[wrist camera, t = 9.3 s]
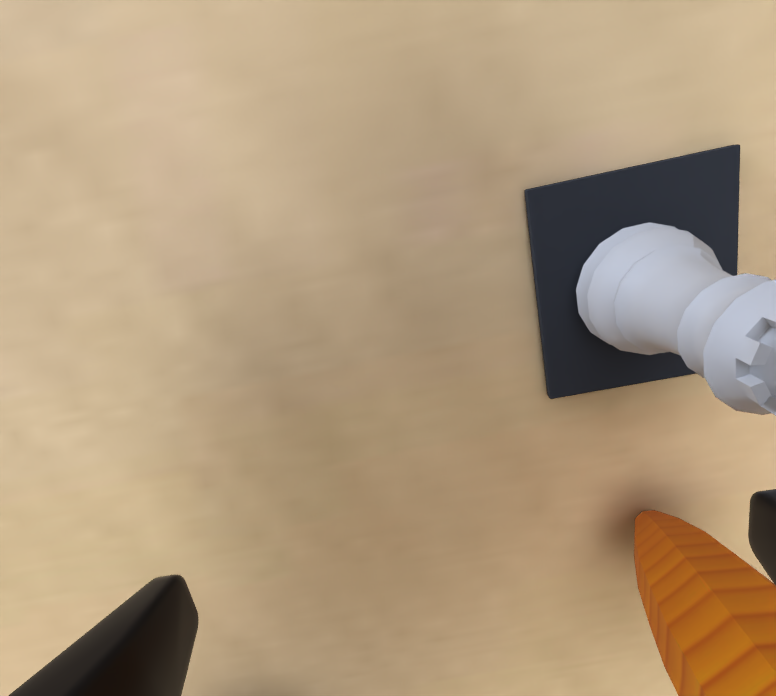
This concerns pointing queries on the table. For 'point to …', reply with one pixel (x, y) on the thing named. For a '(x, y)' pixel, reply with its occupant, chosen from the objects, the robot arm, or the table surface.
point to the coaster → (597, 223)
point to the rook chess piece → (684, 310)
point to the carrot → (705, 610)
